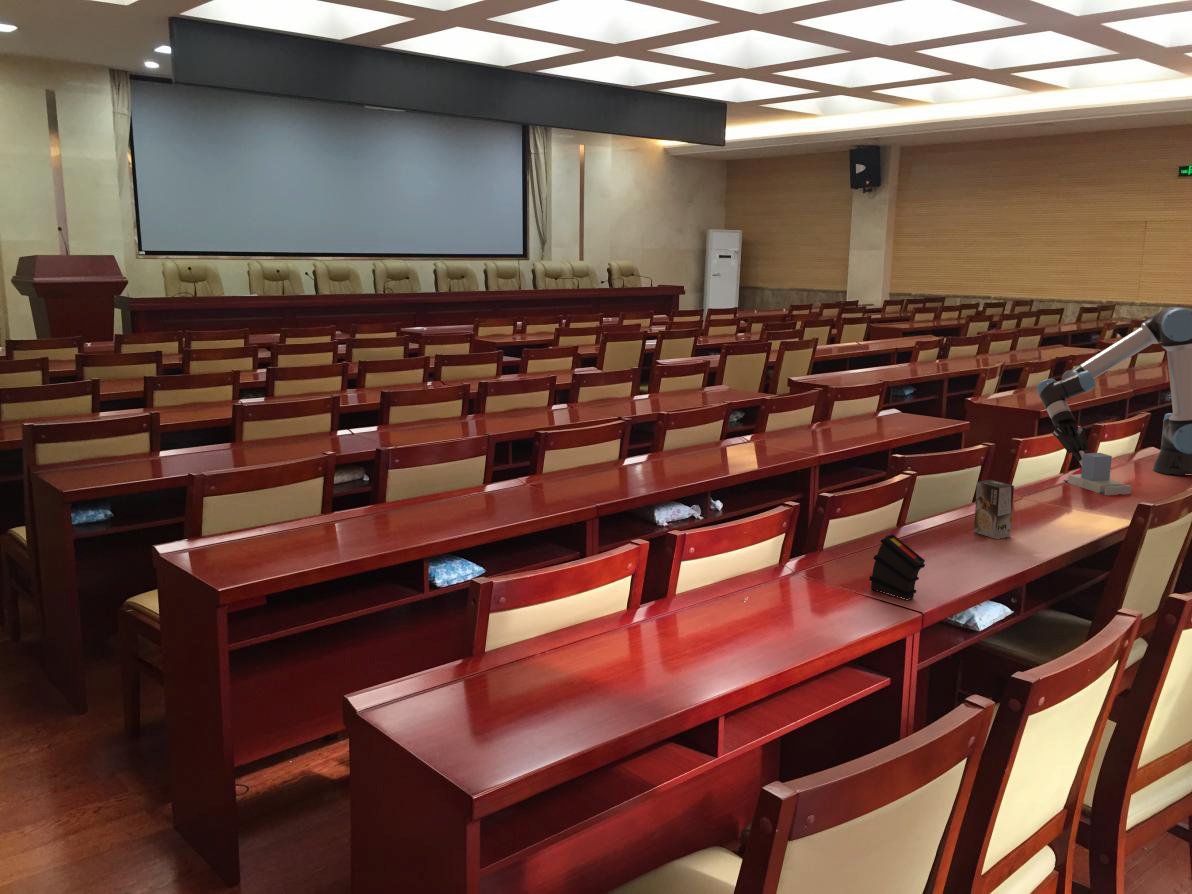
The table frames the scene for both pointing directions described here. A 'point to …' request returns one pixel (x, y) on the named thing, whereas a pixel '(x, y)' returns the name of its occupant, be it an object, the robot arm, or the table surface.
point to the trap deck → (1100, 485)
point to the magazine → (896, 568)
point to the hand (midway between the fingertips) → (1086, 467)
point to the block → (1096, 466)
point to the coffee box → (993, 509)
